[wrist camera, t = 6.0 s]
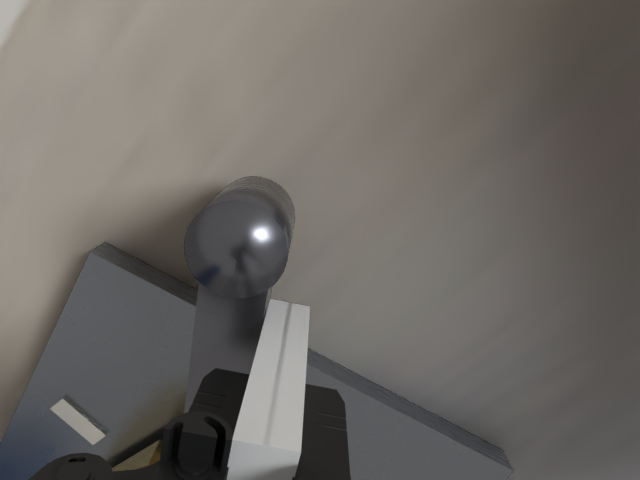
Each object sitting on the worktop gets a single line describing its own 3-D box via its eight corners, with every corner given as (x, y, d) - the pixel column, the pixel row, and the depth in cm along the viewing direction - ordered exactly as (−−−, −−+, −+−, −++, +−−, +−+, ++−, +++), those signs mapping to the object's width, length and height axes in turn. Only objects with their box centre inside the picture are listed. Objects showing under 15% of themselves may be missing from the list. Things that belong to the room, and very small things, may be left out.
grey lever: (305, 636, 22) (301, 747, 18) (81, 607, 22) (30, 716, 18) (416, 205, 16) (448, 240, 12) (99, 146, 15) (22, 163, 11)
